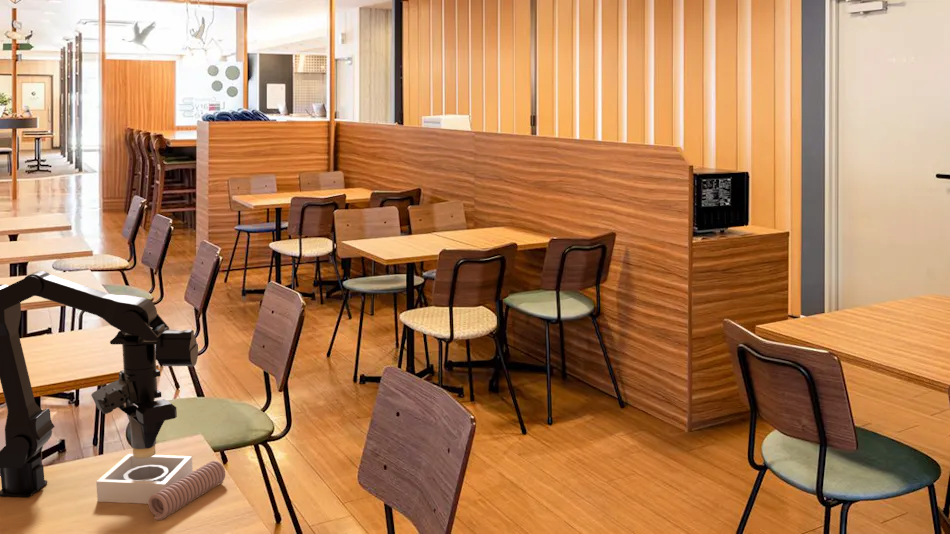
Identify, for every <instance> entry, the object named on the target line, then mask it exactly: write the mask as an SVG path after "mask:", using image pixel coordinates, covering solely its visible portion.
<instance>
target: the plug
mask: <svg viewBox="0 0 950 534" xmlns="http://www.w3.org/2000/svg"><path fill="white" fill-rule="evenodd" d="M132 417H136V412H134V413H132V414H131V415H130V421H129V424H130V425H129V427H130V442H131V447H132V454H133V456H134V457H135V458H148V457H151V456H154V455H156V451H157V450H156V445H157V438H156V439H155V442H154V444H153V446H152V448H148V449H147V448H146V447H145V444H144V440H143V435H142V430H141V425H140V424H139V423H138V422H137V421H135V420H134V419H133V418H132Z"/></svg>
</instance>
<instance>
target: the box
mask: <svg viewBox="0 0 950 534" xmlns="http://www.w3.org/2000/svg"><path fill="white" fill-rule="evenodd" d="M193 471H194V470H193V456H191V455H168V454H167V455H166V454H165V455H164V454H155V455H154V456H151V457H148V458H135V457H134V456H133V453H128V454H126V455H125V456H124V457H123V458H121V460H120V461H118V462H117V463H116V464H115V465H113V467H111V468H110V469H109V470H108V471H107V472H105V474H103V475H102V476H100V477H99V479H97V480H96V486H95V487H96V498H97V499H96V500H97V502H98V503H99V502H100V503H119V504H120V503H122V504H123V503H124V504H125V503H126V504H146V505H147V504H148V501H149V498H150V497H151V496H152V495H154V494H155V493H157V492H159V491H160V490H163V489H164V488H166V487H167V486H169V485H171V484H173V483H174V482H176V481H178V480H180V479H182V478H183V477H185V476H187V475H189V474H190V473H192V472H193Z"/></svg>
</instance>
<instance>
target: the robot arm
mask: <svg viewBox="0 0 950 534" xmlns="http://www.w3.org/2000/svg"><path fill="white" fill-rule="evenodd" d="M32 297H39V298H43V299H44V300H49V301H51V302H54V303H58V304H60V305H63V306H67V307H70V308H73V309H76V310H78V311H81V312H85V313H89V314H91V315H94V316H97V317H99V318H101V319H103V320H104V321H105V322H106V323H107V324H109V326H111V327H113V328H115V329H117V330H119V331H118V332H117V334H116V335H115V337H113V338H112V339H111V340H110V341H109V344H110V345H122V348H121V349H122V360H123V361H122V363H123V370H119V372H118V380H115V381H112V382H110V383H108V384H106V385H104V386H103V387H101V388H98V389H97V390H96V391H94V392H92V393H91V395H90V397H92V399H93V402H94V404H95V406H96V407H97V410H99V411H101V412H102V414H103V415H107V414H110V413H111V412H113V411H114V410H115V409H119V410H120V411H122V412H123V413H125V414H126V415H127V418H128V419H127V420H128V422H130V415H131V414H132V413H134V412H136V417H132V418H133V419H134V420H135V421H137V422H138V423H139V424H140V425H141V430H142V435H143V440H144V444H145V447H146V448H147V449H148V448H152V446H153V444H154V442H155V439H156V440H157V437H158V435H159V433H160V431H161V428H162V427H163V425H164V423H165V421H168V420H172V419H173V420H174V419H176V418H177V417H178V415H177V410H178V409H177V407H176V406H175V405H174V404H173V403H171V402H170V401H168V400H166V399H165V398H162V391H161V390H160V389H158V378H159V377H161V371H160V370H159V369H158V368H157V363H158V364H161V365H162V366H163V367H194V366H196V364H197V362H198V357H199V343H197V338H196V336H195V333H194V332H195V331H194V329H184V330H170V326H169V325H168V324H167V323H166V322H165V321H164V320H163V318H162V317H161V316H160V314H158V310H157V307H156V305H155V304H154V302H153V301H152V300H151V299H149V298H146V297H141V296H135V295H129V294H128V295H127V294H126V295H125V294H111V293H108V292H104V291H101V290H98V289H95V288H93V287H89V286H86V285H83V284H79V283H77V282H74V281H71V280H68V279H64V278H62V277H59V276H56V275H54V274H53V275H52V274H51V273H50V272H47V271H46V270H45V271H43V270H38V271H35V272H32V273H31V274H28V275H26V276H25V277H24V278H23V279H20V280H18V281H16V282H14V283H12V284H10V285H8V284H0V386H1V389H2V393H3V397H4V401H5V405H6V410H7V413H6V414H7V415H6V421H5V425H4V440H5V446H4V447H3V448H2V449H0V482H1V483H0V484H1V489H0V497H18V498H20V497H21V498H28V497H31V496H33V495H34V494H35V493H36V492H38V491H39V490H41V489H42V488H43V487H45V486H46V485H47V484H48V480H47V479H45V471H44V464H42V460H41V455H37V454H38V453H40V452H41V451H42V450H43V448H44V445H46V443H48V442H49V440H50V439H51V437H52V434H53V431H52V430H53V429H54V428H55V424H54V423H53V422H52V418H51V410H50V408H49V407H47V408H44V409H42V408H41V407H40V406H39V405H38V404H37V402H36V400H35V397H34V392H33V388H32V384H31V380H30V375H29V371H28V366H27V364H26V358H25V354H24V351H23V347H22V346H23V345H22V342H21V338H20V332H19V327H20V322H21V317H22V309H21V308H22V307H21V303H22V302H24V301H26V300H29V299H30V298H32ZM159 398H162V399H159ZM156 399H158V400H156Z"/></svg>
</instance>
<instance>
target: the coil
mask: <svg viewBox="0 0 950 534" xmlns="http://www.w3.org/2000/svg"><path fill="white" fill-rule="evenodd" d="M225 478H226V469H225V467H224V465H223V464H222V463H221V462H219V461H218V460H212V461H209V462H208V463H206V464H204V465H203V466H200V467H199V468H197V469H196V470H193V472H192V473H190V474H189V475H187V476H185V477H183V478H182V479H180V480H178V481H176V482H174V483H173V484H171V485H169V486H167V487H166V488H164V489H163V490H160V491H159V492H157V493H155V494H154V495H152V496H151V497H150V498H149V501H148V509H149V511H150V512H151V514H153V515H154V520H156V521H161V520H164V519H165V518H167V517H169V516H170V515H172V514H173V513H175V512H176V511H179V510H180V509H181V508H183V507H185V506H186V505H187V504H190V503H192V502H193V501H194V500H196V499H197V498H199V497H201V496H203V495H204V494H206V493H207V492H208V491H210V490H213V488H216V487H217V486H219V485H220V484H222V483H223V482H224V480H225Z"/></svg>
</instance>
